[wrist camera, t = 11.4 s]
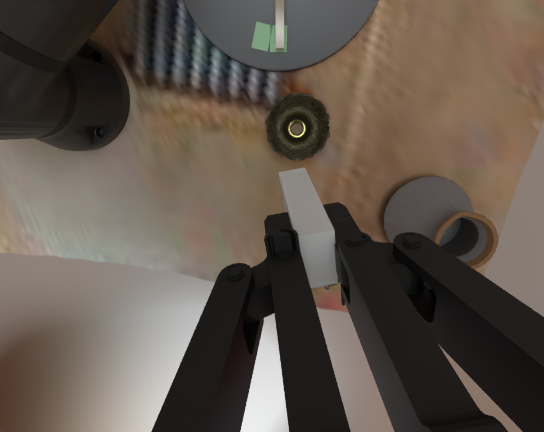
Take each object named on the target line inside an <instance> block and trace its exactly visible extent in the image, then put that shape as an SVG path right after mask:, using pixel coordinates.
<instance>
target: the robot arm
mask: <svg viewBox="0 0 544 432" xmlns="http://www.w3.org/2000/svg"><path fill="white" fill-rule="evenodd" d="M117 2H118V0H0V140H1V139H30V138H35V139H37V140H40V141H42V142H45V143H47V144H50V145H52V146H55V147H57V148H60V149H65V150H71V151H83V150H93V149H97V148H100V147H103V146H105V145H107V144H108V143H110V142H111V141H112V140H113V139H115V138H116V137H117V135H118V134H119V133H120V131H121V130H122V128H123V127H124V124H125V122H126V120H127V116H128V112H129V90H128V86H127V82H126V79H125V76H124V74H123V72H122V70H121V68H120V66H119V65H118V63H117V62H116V60H115V59H114V58H113V57H112V55H111V54H110V53H109V52H108V51H107V50H105V49H104V48H103V47H102V46H100V45H99V44H97V43H96V42H94V41H92V40H90V39H89V37H90V36H91V35H92V33H93V32H94V31H95V30H96V28H97V27H98V26H99V25H100V23H101V22H102V21H103V19H104V18H105V17H106V16H107V14H108V13H109V12H110V10H111V9H112V8H113V7H114V5H115V4H116V3H117ZM278 173H279V179H280V186H281V192H282V198H283V205H284V211H285V213H280V214H274V215H269V216H267V218H266V220H265V221H264V224H265V232H266V235H265V238H264V241H265V246H266V251H267V257H266V259H265V260H264V261H263V262H262V263H260V264H259V265H257V266H254V267H252V268H251V267H250V266H249V265H247V264H243V263H236V264H232V265H229V266H227V267H225V268H224V269H223V270H222V271H221V272H220V273H219V275H218V277H217V280H216V282H215V285H214V287H213V289H212V291H211V294H210V296H209V299H208V301H207V303H206V305H205V308H204V310H203V313H202V315H201V317H200V320H199V322H198V324H197V326H196V329H195V331H194V333H193V336H192V338H191V341H190V343H189V345H188V348H187V350H186V352H185V355H184V357H183V359H182V362H181V364H180V366H179V369H178V371H177V373H176V376H175V378H174V380H173V383H172V385H171V387H170V390H169V392H168V394H167V397H166V399H165V401H164V404H163V406H162V409H161V411H160V413H159V415H158V418H157V420H156V422H155V425H154V427H153V429H152V432H240V430H241V426H242V421H243V416H244V412H245V407H246V402H247V398H248V393H249V388H250V383H251V379H252V374H253V370H254V365H255V360H256V356H257V350H258V346H259V341H260V337H261V331H262V327H263V323H264V317H267V316H269V315H271V314H273V313H275V320H276V328H277V335H278V343H279V352H280V360H281V368H282V376H283V384H284V392H285V400H286V408H287V417H288V425H289V432H351V431H350V428H349V424H348V421H347V417H346V414H345V410H344V406H343V403H342V399H341V396H340V392H339V389H338V385H337V381H336V378H335V374H334V370H333V367H332V363H331V360H330V356H329V352H328V349H327V345H326V342H325V338H324V334H323V331H322V327H321V324H320V320H319V317H318V313H317V309H316V305H315V302H314V298H313V295H312V291H311V288H315V287H321V286H326V285H332V284H338V277H339V280H340V283H341V299H342V305H345V303H346V306H347V308H348V311H349V314H350V316H351V319H352V322H353V324H354V327H355V329H356V332H357V334H358V337H359V339H360V342H361V345H362V347H363V350H364V353H365V355H366V358H367V361H368V363H369V366H370V369H371V371H372V373H373V376H374V379H375V382H376V384H377V387H378V389H379V392H380V394H381V397H382V400H383V402H384V405H385V408H386V410H387V413H388V416H389V418H390V421H391V423H392V426H393V428H394V431H395V432H508V431H507V430H506V429H505V427H504V426H503V425H502V424H501V422H499V421H498V420H497V419H496V418H495V417H493V416H489V415H485V414H484V413H483V412H481V411H480V409H479V408H478V407H477V405H476V404H475V402H474V401H473V399H472V398H471V396H470V394H469V393H468V391H467V389H466V388H465V386H464V385H463V383H462V382H461V380H460V378H459V377H458V375H457V374H456V372H455V371H454V369H453V367H452V366H451V364H450V362H449V361H448V359H447V358H446V356H445V355H444V353H443V351H442V350H441V348H440V347H439V345H440V346H441V347H442V348H443V349H444V350H445V352H446V353H447V354H448V355H449V356H450V357H451V358H452V359H453V360H454V361H455V362H456V363H457V364H458V365H459V366H460V367H461V368H462V369H463V370H464V371H465V372H466V373H467V374H468V375H469V376H470V377H471V378H472V379H473V380H474V382H476V384H477V385H478V386H479V387H480V388H481V389H482V390H483V391H484V392H485V393H486V394H487V395H488V396H489V397H490V398H491V399H492V400H493V401H494V402H495V403H496V404H497V405H498V406H499V407H500V408H501V409H502V411H503V412H504V413H505V414H506V415H507V416H508V417H509V418H510V419H511V420H512V421H513V422H514V423H515V424H516V425H517V426H518V427H519V428H520V429H521V430H522V431H523V432H544V317H543V316H541V315H540V314H538V313H537V312H535V311H534V310H532V309H531V308H530V307H528V306H527V305H525V304H524V303H522V302H521V301H519V300H518V299H516V298H515V297H513V296H512V295H511V294H509V293H508V292H506V291H505V290H503V289H502V288H500V287H499V286H498V285H496V284H495V283H493V282H492V281H490V280H489V279H487V278H486V277H484V276H483V275H482V274H480V273H479V272H477V271H476V270H474V269H473V268H471V267H470V266H468V265H467V264H465V263H464V262H463V261H461V260H460V259H458V258H457V257H455V256H454V255H452V254H451V253H449V252H448V251H447V250H445V249H444V248H442V247H441V246H439V245H438V244H436V243H435V242H433V241H432V240H431V239H429V238H428V237H426V236H424V235H422V234H419V233H414V232H405V233H401V234H399V235H397V236H395V238H394V239H393V243H382V242H375V241H373V240H372V239H371V237H370V236H368V235H367V234H365V233H363V232H361V231H360V230H359V228H358V226H357V225H356V223H355V221H354V220H353V218H352V216H351V215H350V213H349V211H348V210H347V208H346V207H345V206H344V205H342V204H340V203H339V202H338V203H332V204H326V205H322V203H321V201H320V199H319V197H318V194H317V192H316V190H315V188H314V186H313V184H312V182H311V180H310V178H309V175H308V173H307V171H306V169H305V168H299V169H294V170H288V171H283V172H278ZM344 301H345V302H344ZM438 344H439V345H438Z"/></svg>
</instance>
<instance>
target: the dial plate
mask: <svg viewBox="0 0 544 432" xmlns="http://www.w3.org/2000/svg"><path fill="white" fill-rule="evenodd" d="M183 1H184V3H185V6H186V8H187V9H188V11H189V13H190V15H191V17H192V19H193V20H194V21H195V23H196V24H197V26H198V27H199V28H200V30H201V31H202V32H203V33H204V35H205V36H206V37H207V38H208V39H209V40H210V41H211V42H212V43H213V44H214V45H215V46H216V47H217V48H218V49H219V50H221V51H222V52H223V53H224V54H226V55H227V56H229V57H231V58H232V59H234V60H235V61H237V62H240V63H242V64H244V65H246V66H249V67H252V68H256V69H259V70H265V71H272V72H286V71H293V70H299V69H303V68H306V67H310V66H312V65H315V64H317V63H319V62H321V61H323V60H325V59H327V58H328V57H330V56H332V55H333V54H335V53H336V52H338V51H339V50H340V49H341V48H343V47H344V46H345V45H346V44H347V43H348V42H349V41H350V40H351V39H352V38H353V37H354V36H355V35H356V34H357V33H358V31H359V30H360V29H361V28H362V26H363V25H364V24H365V22H366V21H367V19H368V18H369V16H370V14H371V13H372V11H373V9H374V8H375V6H376V4H377V2H378V0H284V49H278V50H276V4H275V0H183Z"/></svg>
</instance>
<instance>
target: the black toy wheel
mask: <svg viewBox="0 0 544 432" xmlns="http://www.w3.org/2000/svg"><path fill="white" fill-rule="evenodd" d="M329 120H330V117H329V114H328V113H327V111H326V108H325V106H324V104H323V103H322V102H321V101H319V100H317V99H314V97H313V96H312V95H310V94H309V95H307V96H306V95H305V94H303V93H300V92H298V93H293V94H289V95H288V96H286V97H285V98H280V99H279V100H278V102H277V103H276V104H274V105H273V106H272V107H271V108H270V110H269V112H268V115H267V118H266V120H265V125H266V128H267V130H266V132H267V140H268V141H269V143H270V146H271V148H272V149H273V150H274V151H276V152H278V153H279V155H280V156H282V157H287V158H288V159H291V160H304V159H305V158H307V157H309V158H311V157H313V155H314V154H315V153H317V152H319V151H321V150H322V149H323V148H324V146H325V144H326V141H327V140H328V138H329V136H330V132H329ZM294 123H300V124H301V125H302V126H303V131H302V132H301V133H300V134H299V135H295V134H293V133H292V131H291V126H292V125H293V124H294Z"/></svg>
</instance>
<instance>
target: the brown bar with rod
mask: <svg viewBox="0 0 544 432" xmlns="http://www.w3.org/2000/svg"><path fill="white" fill-rule="evenodd" d="M275 4H276V50H278V49H284V0H275Z"/></svg>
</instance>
